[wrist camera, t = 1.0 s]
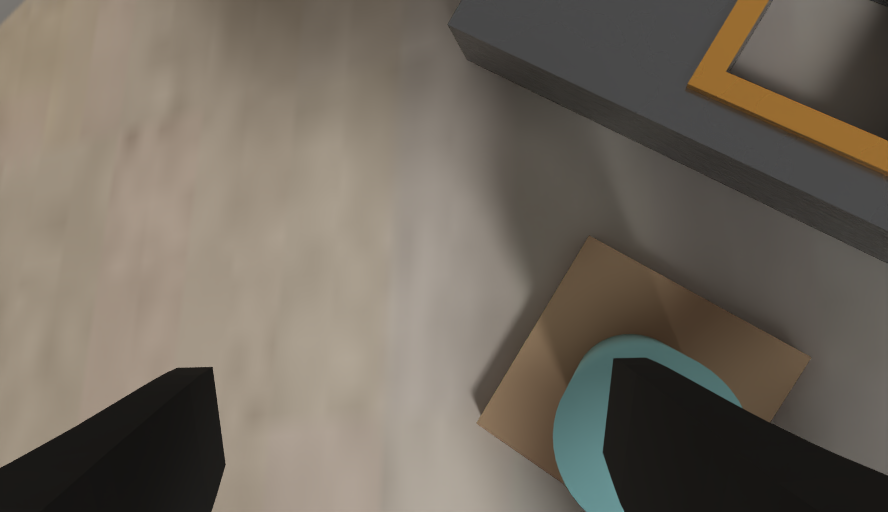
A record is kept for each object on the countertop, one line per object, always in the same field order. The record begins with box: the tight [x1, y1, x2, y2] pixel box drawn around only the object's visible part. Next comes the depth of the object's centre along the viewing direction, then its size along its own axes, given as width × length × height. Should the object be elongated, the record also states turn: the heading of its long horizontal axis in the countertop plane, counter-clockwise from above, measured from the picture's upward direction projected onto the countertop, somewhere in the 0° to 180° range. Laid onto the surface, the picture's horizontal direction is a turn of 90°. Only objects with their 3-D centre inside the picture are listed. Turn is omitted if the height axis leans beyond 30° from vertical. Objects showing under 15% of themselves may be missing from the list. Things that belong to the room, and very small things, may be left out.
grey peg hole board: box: [448, 0, 888, 263], centre depth 18 cm, size 24×10×3 cm, turn 59°
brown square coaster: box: [477, 236, 811, 485], centre depth 20 cm, size 8×8×1 cm
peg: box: [553, 334, 742, 512], centre depth 16 cm, size 4×4×8 cm
